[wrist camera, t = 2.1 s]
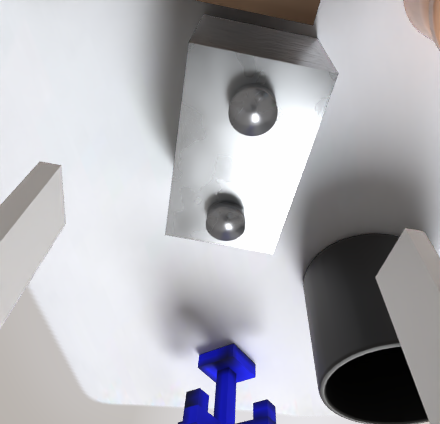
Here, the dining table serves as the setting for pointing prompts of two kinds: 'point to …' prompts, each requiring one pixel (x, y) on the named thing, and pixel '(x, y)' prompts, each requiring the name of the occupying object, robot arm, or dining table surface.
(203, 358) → the figurine
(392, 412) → the mug
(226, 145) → the block
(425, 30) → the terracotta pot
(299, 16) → the stand
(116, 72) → the dining table surface
